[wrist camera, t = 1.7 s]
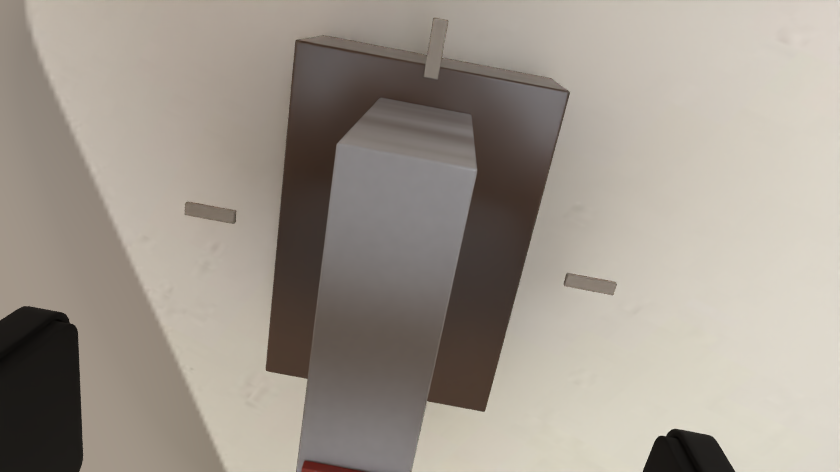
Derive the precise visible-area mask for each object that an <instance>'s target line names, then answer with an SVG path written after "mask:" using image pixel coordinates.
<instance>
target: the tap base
mask: <svg viewBox="0 0 840 472" xmlns="http://www.w3.org/2000/svg"><path fill="white" fill-rule="evenodd" d="M447 26H448V20H444V19H439V18H433V24H432V30H431V36H430V42H429V47H428V53H427V55H425V54H420V53H414V52H409V51H404V50H399V49H393V48H388V47H383V46H377V45H372V44H367V43H362V42H356V41H351V40H346V39H340V38H335V37H330V36H324V35H322V36H317V37H311V38H305V39H299V40H296V42H295V51H294V62H293V74H292V85H291V96H290V107H289V118H288V129H287V140H286V151H285V162H284V173H283V184H282V195H281V206H280V217H279V228H278V239H277V250H276V261H275V273H274V284H273V295H272V306H271V317H270V328H269V339H268V350H267V361H266V371H269V372H274V373H280V374H285V375H290V376H296V377H301V378H306V379H308V372H309V364H310V356H311V348H312V340H313V331H314V323H315V315H316V307H317V299H318V291H319V283H320V275H321V267H322V258H323V250H324V242H325V234H326V226H327V218H328V210H329V202H330V194H331V186H332V177H333V169H334V161H335V153H336V145H337V143H338V142H339V141H340V140H341V139H342V138H343V137H344V135H345V134H346V133H347V132H348V131H349V130H350V129H351V128H352V127H353V126H354V125H355V124H356V123H357V122H358V121H359V119H360V118H361V117H362V116H363V115H364V114H365V113H366V112H367V111H368V110H369V109H370V108H371V107H372V106H373V105H374V104H375V102H376V101H377V100H378V99H379V98H386V99H391V100H397V101H402V102H407V103H412V104H418V105H423V106H428V107H434V108H439V109H444V110H450V111H455V112H460V113H465V114H470V115H471V116H472V125H473V135H474V144H475V154H476V163H477V175H476V180H475V184H474V189H473V193H472V198H471V202H470V207H469V211H468V216H467V221H466V225H465V230H464V234H463V239H462V243H461V248H460V253H459V257H458V262H457V266H456V271H455V275H454V280H453V285H452V289H451V294H450V298H449V303H448V307H447V312H446V316H445V321H444V326H443V330H442V335H441V339H440V344H439V348H438V353H437V358H436V362H435V367H434V371H433V376H432V380H431V385H430V390H429V394H428V399H427V401H429V402H434V403H440V404H445V405H450V406H456V407H461V408H466V409H472V410H477V411H482V412H484V411H485V409H486V406H487V402H488V398H489V394H490V391H491V387H492V383H493V379H494V376H495V372H496V368H497V364H498V361H499V357H500V353H501V349H502V346H503V342H504V338H505V334H506V331H507V327H508V323H509V319H510V316H511V312H512V308H513V304H514V301H515V297H516V293H517V289H518V286H519V282H520V278H521V274H522V271H523V267H524V263H525V259H526V256H527V252H528V248H529V244H530V241H531V237H532V233H533V229H534V226H535V222H536V218H537V214H538V211H539V207H540V203H541V199H542V196H543V192H544V188H545V184H546V181H547V177H548V173H549V169H550V166H551V162H552V158H553V154H554V151H555V147H556V143H557V139H558V136H559V132H560V128H561V124H562V121H563V117H564V113H565V109H566V106H567V102H568V98H569V94H570V92H569V91H568V90H566V89H565V88H564V87H562V86H561V85H560V84H558V83H557V82H556V81H554V80H553V79H551V78H547V77H542V76H536V75H531V74H526V73H520V72H515V71H510V70H504V69H499V68H494V67H489V66H483V65H478V64H473V63H467V62H462V61H457V60H452V59H446V58H442V53H443V48H444V42H445V37H446V31H447ZM185 215H189V216H194V217H200V218H205V219H210V220H216V221H221V222H226V223H232V224H234V223H235V222H236V210H230V209H225V208H220V207H214V206H209V205H204V204H199V203H193V202H186V203H185ZM616 285H617V284H616V282H613V281H608V280H603V279H597V278H592V277H587V276H581V275H576V274H571V273H567V274H566V277H565V281H564V286H567V287H572V288H577V289H583V290H588V291H593V292H599V293H604V294H609V295H613V294H614V291H615V288H616Z"/></svg>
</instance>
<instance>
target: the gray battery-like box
mask: <svg viewBox="0 0 840 472" xmlns="http://www.w3.org/2000/svg"><path fill="white" fill-rule="evenodd" d="M476 175H477V163H476V154H475V144H474V135H473V125H472V116H471V115H470V114H465V113H460V112H455V111H450V110H444V109H439V108H434V107H428V106H423V105H418V104H412V103H407V102H402V101H397V100H391V99H386V98H379V99H378V100H377V101H376V102H375V104H374V105H373V106H372V107H371V108H370V109H369V110H368V111H367V112H366V113H365V114H364V115H363V116H362V117H361V118H360V119H359V121H358V122H357V123H356V124H355V125H354V126H353V127H352V128H351V129H350V130H349V131H348V132H347V133H346V134H345V135H344V137H343V138H342V139H341V140H340V141H339V142H338V143H337V145H336V153H335V161H334V169H333V177H332V186H331V194H330V202H329V210H328V218H327V226H326V234H325V242H324V250H323V258H322V267H321V275H320V283H319V291H318V299H317V307H316V315H315V323H314V331H313V340H312V348H311V356H310V364H309V372H308V380H307V388H306V396H305V404H304V412H303V421H302V429H301V437H300V445H299V453H298V461H297V469H296V472H412V467H413V463H414V458H415V453H416V449H417V444H418V440H419V435H420V431H421V426H422V421H423V417H424V412H425V408H426V403H427V399H428V394H429V390H430V385H431V380H432V376H433V371H434V367H435V362H436V358H437V353H438V348H439V344H440V339H441V335H442V330H443V326H444V321H445V316H446V312H447V307H448V303H449V298H450V294H451V289H452V285H453V280H454V275H455V271H456V266H457V262H458V257H459V253H460V248H461V243H462V239H463V234H464V230H465V225H466V221H467V216H468V211H469V207H470V202H471V198H472V193H473V189H474V184H475V180H476Z"/></svg>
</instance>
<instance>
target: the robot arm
mask: <svg viewBox="0 0 840 472" xmlns="http://www.w3.org/2000/svg"><path fill="white" fill-rule="evenodd" d="M82 445H83V443H82V419H81V396H80V372H79V348H78V331H77V328H76V327H75V325H73V324H70V322H69V319H68V317H67V315H66V314H64V313H62V312H57V311H51V310H46V309H41V308H35V307H30V306H28V307H27V306H24V307H21V308H19V309H17V310H16V311H14V312H13V313H11V314H10V315H8V316H7V317H5V318H3V319H2V320H0V472H79V471H80V468H81V465H82V461H83V446H82ZM643 472H735V471H734V469H733V467H732V466H731V464H730V462H729V461H728V459H727V457H726V456H725V454H724V452H723V451H722V449H721V448H720V446H719V444H718V443H717V441H716V440H715V439H714V438H713V437H712V436H710V435H706V434H700V433H695V432H690V431H685V430H679V429H672V430H671V431H670V432H669V433H668V434H667V436H659V437H658V438H657V439H656V440H655V442H654V445H653V447H652V450H651V452H650V455H649V457H648V460H647V462H646V465H645V467H644V470H643Z"/></svg>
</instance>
